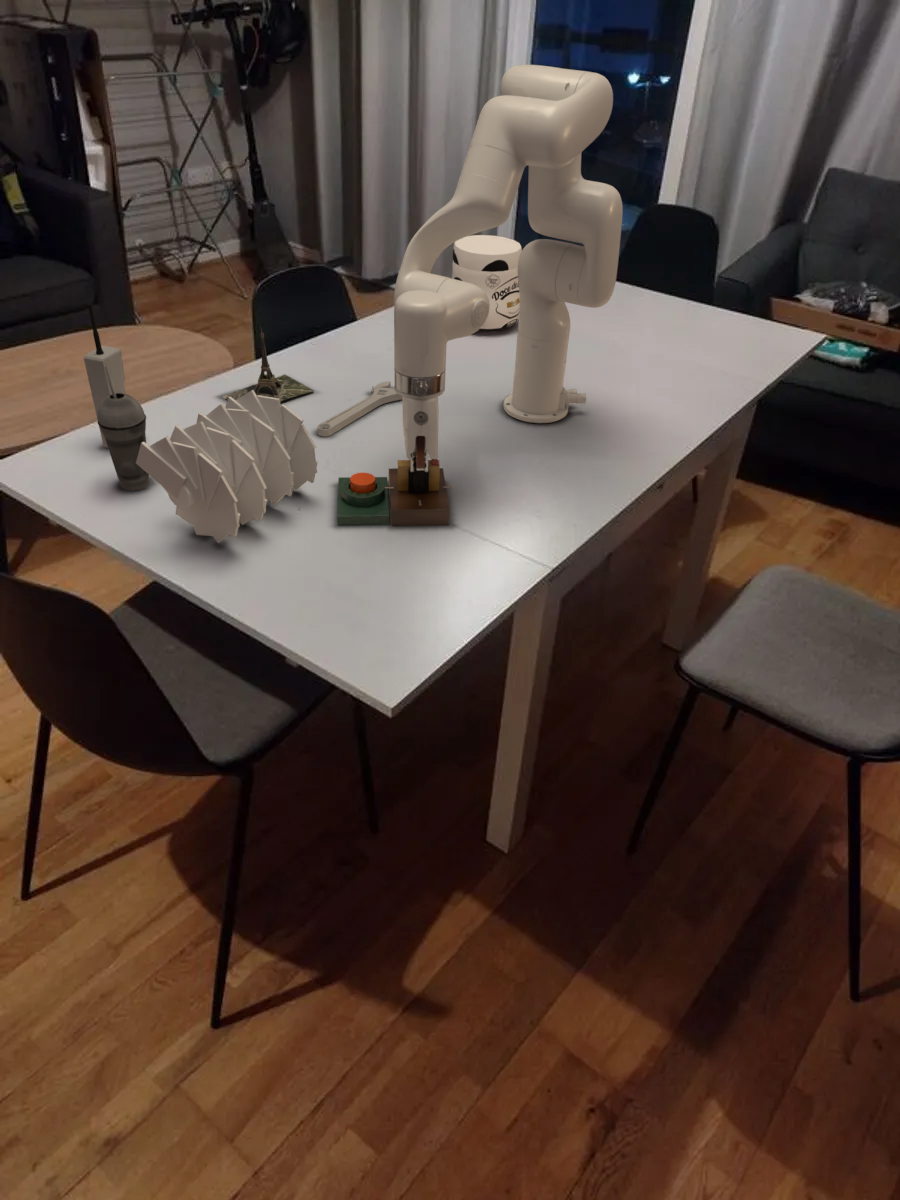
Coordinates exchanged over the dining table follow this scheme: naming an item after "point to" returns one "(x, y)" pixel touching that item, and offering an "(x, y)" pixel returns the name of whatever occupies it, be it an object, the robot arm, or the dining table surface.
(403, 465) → the yellow box red tab
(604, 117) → the robot arm
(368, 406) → the adjustable wrench
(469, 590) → the dining table surface
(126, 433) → the beverage cup
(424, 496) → the control panel
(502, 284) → the milk container
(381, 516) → the button housing
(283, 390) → the eiffel tower figurine
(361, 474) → the button
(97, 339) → the vintage mobile phone
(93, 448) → the dining table surface
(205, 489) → the spiral staircase
